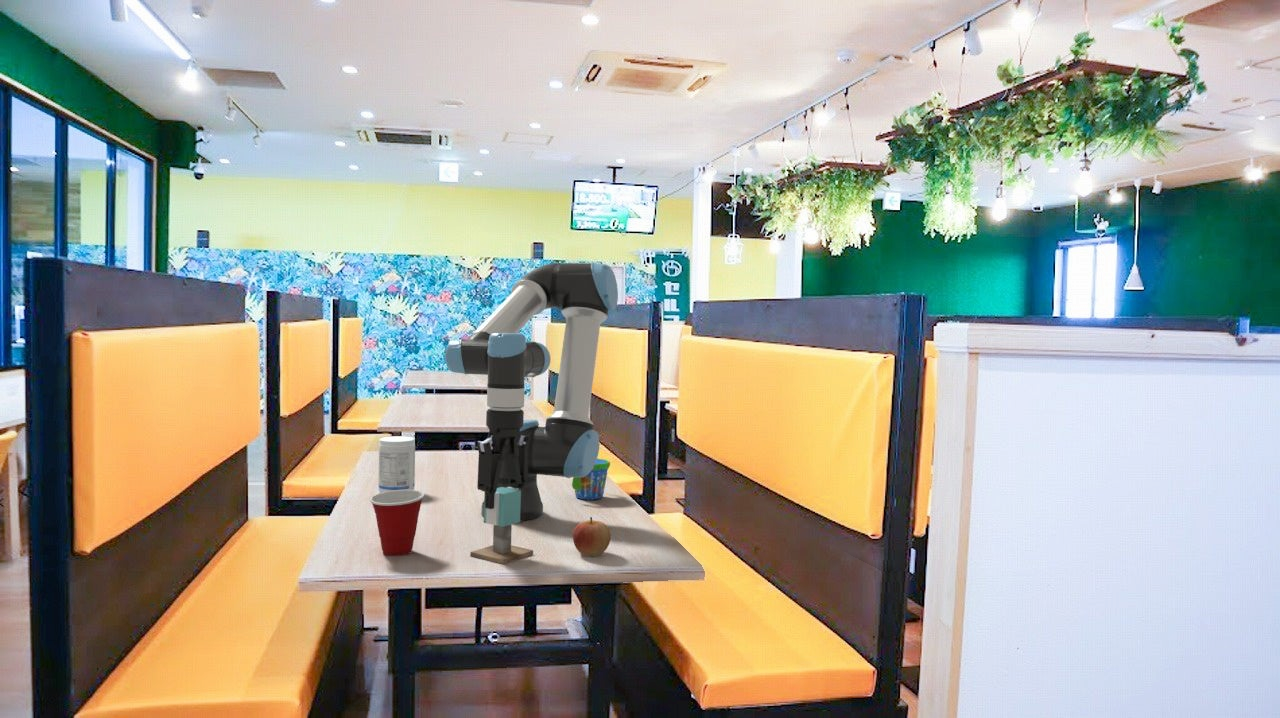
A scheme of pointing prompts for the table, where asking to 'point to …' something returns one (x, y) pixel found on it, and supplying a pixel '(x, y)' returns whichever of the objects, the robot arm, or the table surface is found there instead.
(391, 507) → the plastic cup
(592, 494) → the snack cup
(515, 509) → the teal rectangular block
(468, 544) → the table surface
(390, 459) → the supplement tub
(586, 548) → the apple
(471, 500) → the table surface
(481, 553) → the peg stand
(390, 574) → the table surface
